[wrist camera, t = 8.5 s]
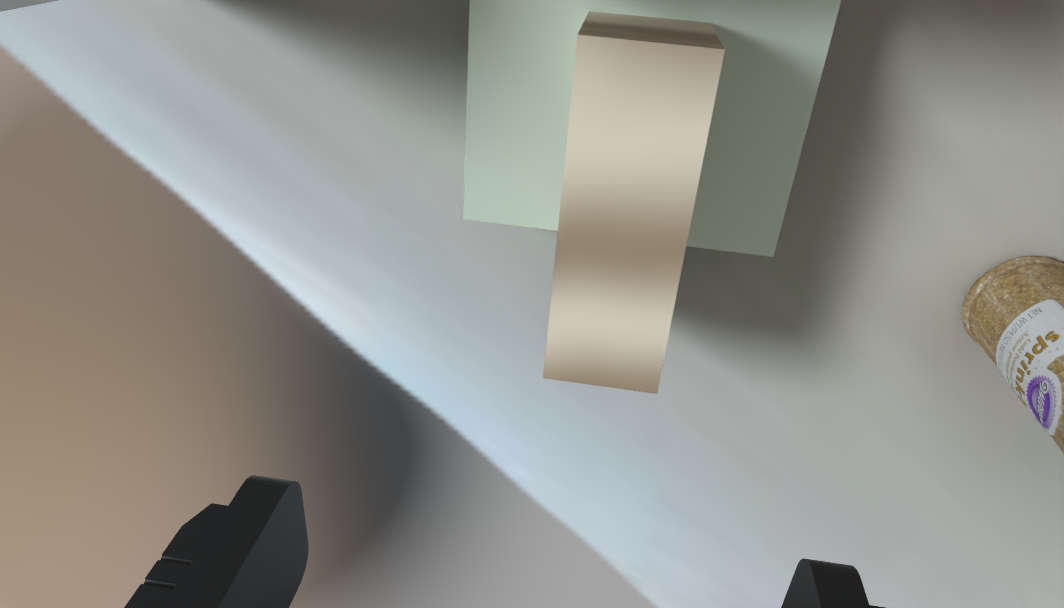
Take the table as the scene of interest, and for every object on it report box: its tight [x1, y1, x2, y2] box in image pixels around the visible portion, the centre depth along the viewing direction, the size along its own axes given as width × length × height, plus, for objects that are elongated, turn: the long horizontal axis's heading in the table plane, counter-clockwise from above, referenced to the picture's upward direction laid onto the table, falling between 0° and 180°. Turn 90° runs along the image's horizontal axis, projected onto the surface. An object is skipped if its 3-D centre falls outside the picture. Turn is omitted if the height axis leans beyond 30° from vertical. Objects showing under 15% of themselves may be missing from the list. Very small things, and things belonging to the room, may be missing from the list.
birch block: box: [543, 11, 725, 394], centre depth 25 cm, size 12×4×5 cm, turn 176°
